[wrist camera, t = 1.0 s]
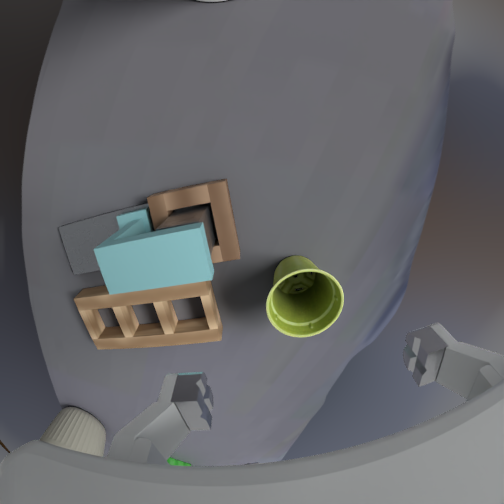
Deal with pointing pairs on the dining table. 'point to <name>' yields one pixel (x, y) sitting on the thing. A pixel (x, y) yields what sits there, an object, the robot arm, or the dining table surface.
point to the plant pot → (303, 298)
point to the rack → (153, 333)
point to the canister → (76, 432)
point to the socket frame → (155, 224)
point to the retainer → (153, 255)
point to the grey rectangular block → (193, 220)
